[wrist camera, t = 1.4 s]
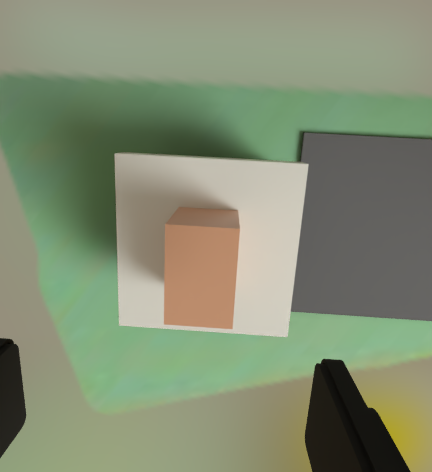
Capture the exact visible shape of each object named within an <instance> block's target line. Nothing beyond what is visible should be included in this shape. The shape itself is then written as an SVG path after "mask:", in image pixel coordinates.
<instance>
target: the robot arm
mask: <svg viewBox="0 0 432 472" xmlns="http://www.w3.org/2000/svg"><path fill="white" fill-rule="evenodd" d="M25 419H26V409H25V400H24V392H23V383H22V375H21V366H20V357H19V349H18V346H17V345H16V344H14V342H13V341H12V340H11V339H2V338H0V458H1V456H2V455H3V454H4V452H5V451H6V449H7V448H8V446H9V445H10V444H11V442H12V441H13V440H14V438H15V437H16V435H17V434H18V432H19V431H20V430H21V428H22V427H23V425H24V422H25ZM305 443H306V448H307V452H308V456H309V460H310V464H311V468H312V472H410V470H409V468H408V466H407V465H406V463H405V461H404V459H403V457H402V456H401V454H400V452H399V450H398V448H397V447H396V445H395V443H394V441H393V440H392V438H391V436H390V434H389V432H388V431H387V429H386V427H385V425H384V424H383V422H382V420H381V418H380V416H379V415H378V413H377V412H376V410H375V409H373V408H368V407H367V405H366V404H365V402H364V400H363V398H362V396H361V394H360V392H359V390H358V389H357V387H356V385H355V383H354V381H353V379H352V377H351V375H350V373H349V372H348V370H347V368H346V366H345V364H344V362H343V361H342V360H332V359H323V360H322V362H321V364H318V363H317V364H316V365H315V371H314V377H313V384H312V391H311V397H310V405H309V411H308V417H307V424H306V431H305Z"/></svg>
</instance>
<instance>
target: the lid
mask: <svg viewBox="0 0 432 472" xmlns="http://www.w3.org/2000/svg"><path fill="white" fill-rule="evenodd" d="M308 165H309V164H307V163H303V162H293V161H275V160H257V159H239V158H221V157H203V156H185V155H167V154H149V153H131V152H122V153H115V188H116V225H117V263H118V300H119V325H121V326H136V327H150V328H164V329H178V330H193V331H207V332H221V333H236V334H250V335H264V336H278V337H287V336H288V328H289V320H290V312H291V304H292V295H293V287H294V279H295V271H296V263H297V255H298V247H299V239H300V230H301V222H302V214H303V206H304V198H305V190H306V182H307V174H308Z"/></svg>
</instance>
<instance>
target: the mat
mask: <svg viewBox="0 0 432 472" xmlns="http://www.w3.org/2000/svg"><path fill="white" fill-rule="evenodd" d="M300 162H303V163H307V164H309V165H308V174H307V182H306V190H305V198H304V206H303V214H302V222H301V230H300V239H299V247H298V255H297V263H296V271H295V279H294V287H293V295H292V304H291V311H292V312H306V313H321V314H336V315H351V316H365V317H380V318H395V319H410V320H424V321H432V139H413V138H394V137H375V136H357V135H338V134H319V133H303V142H302V150H301V159H300Z"/></svg>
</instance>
